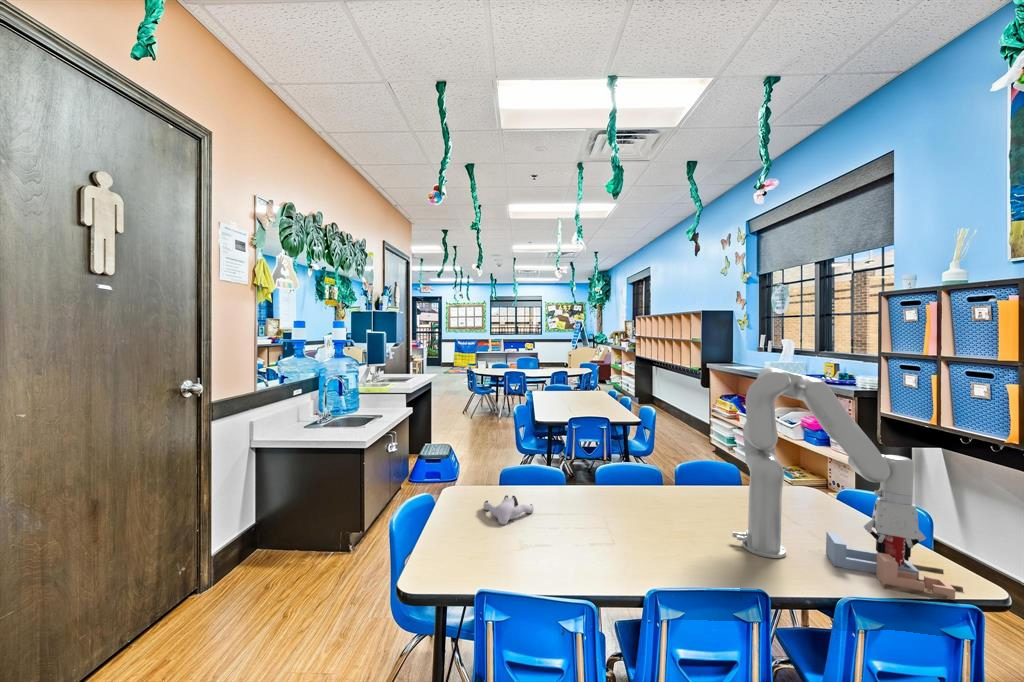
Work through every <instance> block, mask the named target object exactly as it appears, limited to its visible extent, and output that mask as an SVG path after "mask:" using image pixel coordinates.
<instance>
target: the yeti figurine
mask: <svg viewBox="0 0 1024 682" xmlns="http://www.w3.org/2000/svg"><path fill="white" fill-rule="evenodd" d="M518 505H519V502H518V499H517V497H516V496H515V495H512V497H511V498H510V497H509V496H508V494H506V495H505V496H504V498H503V500H502V502H501V503H500V504H498V505H497V506H495V505H494V504H493V503H491V502H489V500H485V501H484V502H483V509H484V510H486V511H488V512H489V513H491V514H492V516H493V517H495V518H497V521H498V524H499V525H502V526H505V525H507V524H508V523H509V521H510V520H514V519H515V518H517V517H518V516H520V515H521V514H522V513H525V514H533V513H534V505H533V504H532V503H530V504H529V505H527V504H521V505H519V506H518Z"/></svg>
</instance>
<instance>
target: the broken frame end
mask: <svg viewBox="0 0 1024 682" xmlns="http://www.w3.org/2000/svg"><path fill="white" fill-rule="evenodd" d="M923 580H924V583H925V589H931V593H936V594H941V595H946V596H947V600H953V601H956V590H955V589H954V588H953V587H952V586H951V585H952V584H950V583H949V582H948V581H946V579H943V578H938V577H933V576H928V575H923Z"/></svg>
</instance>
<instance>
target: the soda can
mask: <svg viewBox="0 0 1024 682" xmlns="http://www.w3.org/2000/svg"><path fill="white" fill-rule="evenodd" d="M905 540H906V538H901V537H896V536H888V535H886V536H885V538H884V540H883V543H884V544H885V550H884V554H890V555H891V556H892V558H893V559H894V560H895V561H896V562H897V563H898V566H900V567H904V559H905Z"/></svg>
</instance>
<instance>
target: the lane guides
mask: <svg viewBox="0 0 1024 682" xmlns="http://www.w3.org/2000/svg"><path fill="white" fill-rule="evenodd" d="M911 564H912V565H913V566H914V567H915V568H916V569H917V570H921V571H922V570H924V571H929V572H935V573H941V574H944V569H943V568H938V567H932V566H926V565H920V564H914V563H911ZM917 580H918V581H923V582H924V579H921V578H919V579H917ZM950 585H951V586H952V587H953V588H954V589H955V591H959V590H961V591H960V592H964V587H963V586H959V585H953V584H950ZM883 586H884V589H887V590H891V591H896V592H903V593H907V594H912V595H917V596H923V597H928V598H934V599H939V600H945V601H948V599H947V596H946V595H941V594H936V593H932V592H930V591H929V592H928V591H925V590H924V591H920V590H914V589H909V588H903V587H898V586H893V585H887V584H885V585H883Z"/></svg>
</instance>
